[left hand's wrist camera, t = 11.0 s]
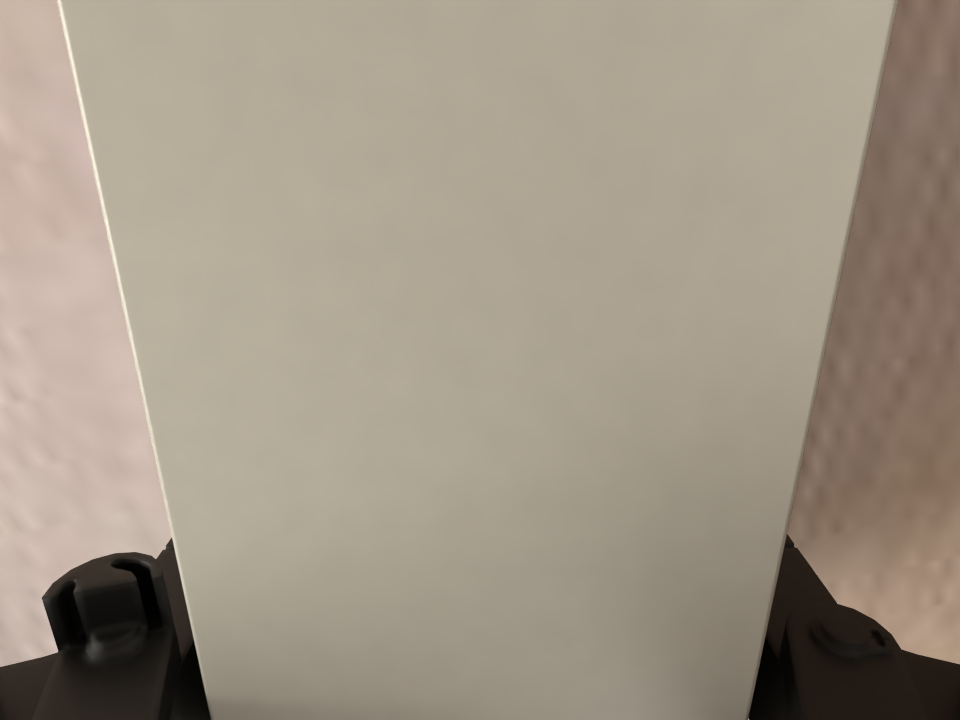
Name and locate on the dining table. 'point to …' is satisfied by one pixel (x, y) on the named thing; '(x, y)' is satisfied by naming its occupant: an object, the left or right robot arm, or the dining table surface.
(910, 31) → the dining table surface
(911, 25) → the dining table surface
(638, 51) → the board
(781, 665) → the left robot arm
